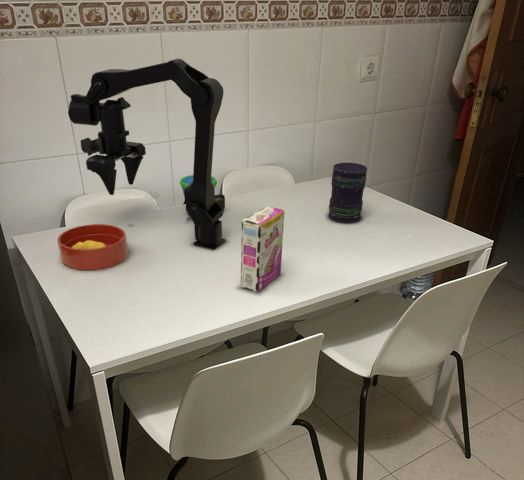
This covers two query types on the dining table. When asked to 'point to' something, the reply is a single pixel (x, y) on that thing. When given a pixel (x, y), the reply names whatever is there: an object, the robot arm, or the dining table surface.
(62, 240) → the bowl
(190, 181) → the snack cup
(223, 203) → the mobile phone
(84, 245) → the banana
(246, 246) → the candy bar box
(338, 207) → the storage jar
